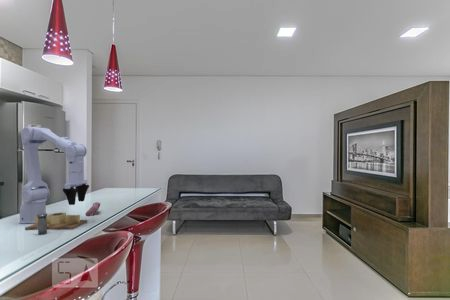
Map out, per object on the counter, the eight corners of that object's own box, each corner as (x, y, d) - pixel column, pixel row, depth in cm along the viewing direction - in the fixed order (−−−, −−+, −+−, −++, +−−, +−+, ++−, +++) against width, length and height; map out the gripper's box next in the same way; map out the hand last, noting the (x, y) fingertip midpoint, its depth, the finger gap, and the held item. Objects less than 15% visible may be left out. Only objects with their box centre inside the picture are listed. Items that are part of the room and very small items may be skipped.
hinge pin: (35, 235, 103) (34, 215, 103) (41, 232, 106) (40, 213, 106) (43, 235, 103) (43, 215, 103) (49, 232, 106) (49, 213, 106)
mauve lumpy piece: (93, 218, 133) (100, 206, 134) (84, 215, 131) (91, 202, 132) (96, 214, 142) (103, 202, 143) (88, 211, 141) (94, 199, 142)
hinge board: (25, 229, 110) (25, 227, 110) (43, 222, 121) (43, 220, 121) (73, 229, 110) (73, 226, 110) (87, 222, 121) (87, 219, 121)
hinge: (30, 225, 112) (30, 216, 112) (41, 221, 118) (40, 212, 118) (75, 225, 112) (75, 215, 112) (83, 221, 118) (83, 212, 118)
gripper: (76, 173, 109) (76, 206, 109) (93, 170, 123) (93, 199, 123) (59, 173, 108) (59, 206, 108) (78, 170, 123) (78, 199, 123)
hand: (76, 202), depth 116 cm, fingers open, 7 cm apart
